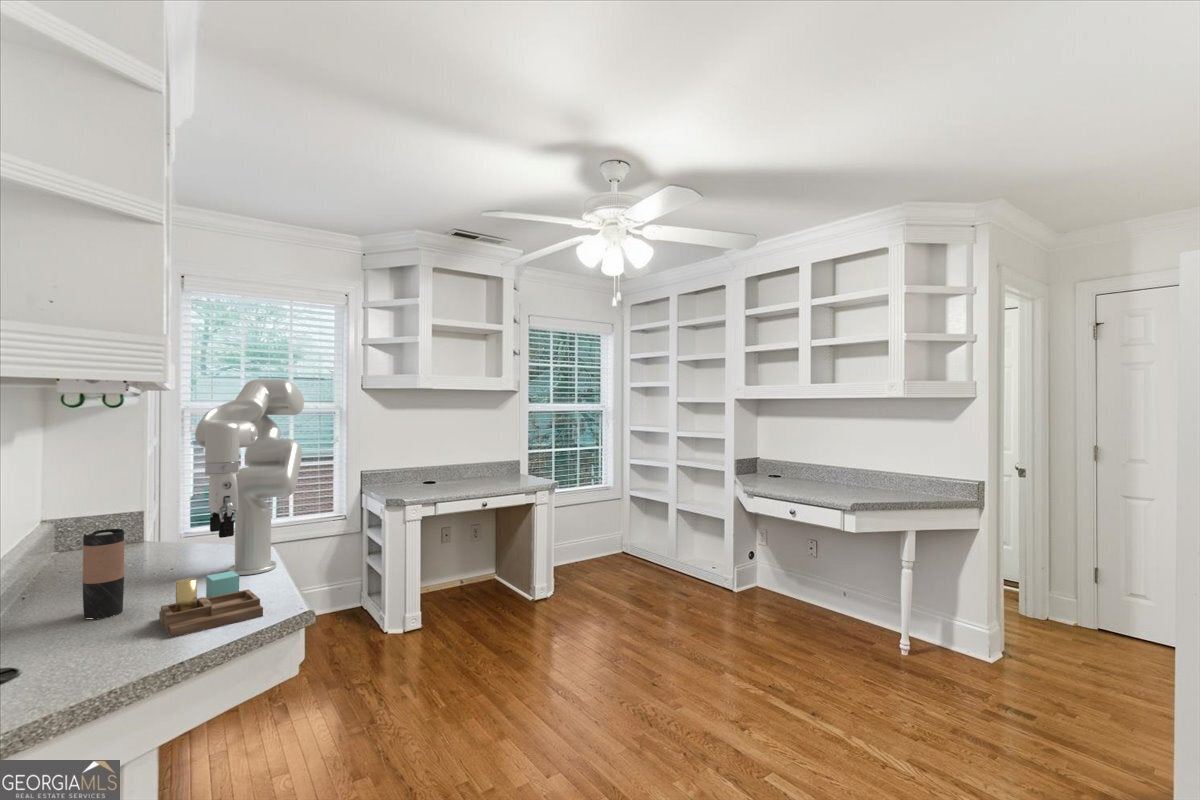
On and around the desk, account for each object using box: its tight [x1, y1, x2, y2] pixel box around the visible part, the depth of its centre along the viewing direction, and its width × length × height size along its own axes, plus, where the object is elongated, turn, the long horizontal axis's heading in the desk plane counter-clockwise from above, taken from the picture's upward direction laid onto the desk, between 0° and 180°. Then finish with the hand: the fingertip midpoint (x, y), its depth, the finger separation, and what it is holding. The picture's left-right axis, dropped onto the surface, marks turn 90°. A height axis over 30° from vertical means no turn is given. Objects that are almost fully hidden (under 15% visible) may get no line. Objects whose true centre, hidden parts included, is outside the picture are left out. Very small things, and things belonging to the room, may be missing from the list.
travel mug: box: [82, 528, 125, 620], centre depth 138 cm, size 8×8×20 cm
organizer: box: [158, 589, 264, 638], centre depth 136 cm, size 15×18×4 cm
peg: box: [175, 577, 198, 612], centre depth 133 cm, size 4×4×8 cm
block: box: [205, 570, 240, 598], centre depth 150 cm, size 6×6×6 cm
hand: (221, 533), depth 149 cm, fingers open, 9 cm apart
